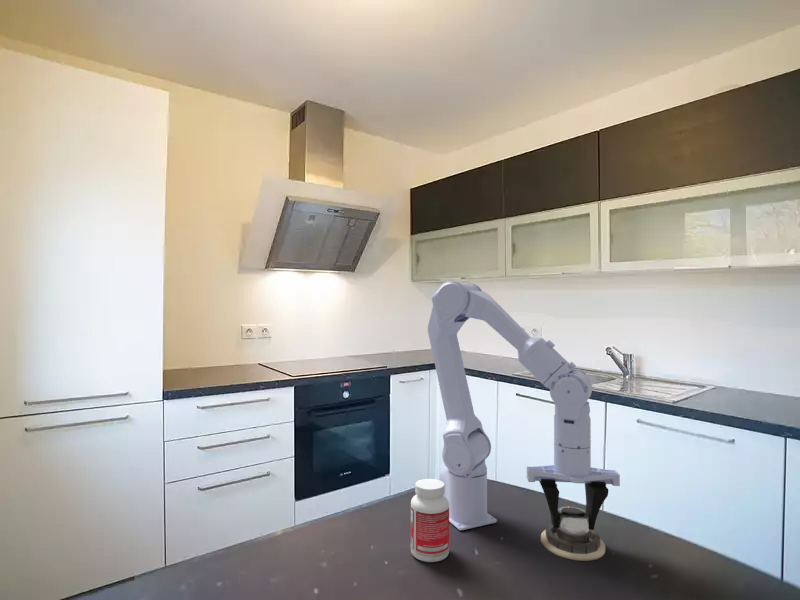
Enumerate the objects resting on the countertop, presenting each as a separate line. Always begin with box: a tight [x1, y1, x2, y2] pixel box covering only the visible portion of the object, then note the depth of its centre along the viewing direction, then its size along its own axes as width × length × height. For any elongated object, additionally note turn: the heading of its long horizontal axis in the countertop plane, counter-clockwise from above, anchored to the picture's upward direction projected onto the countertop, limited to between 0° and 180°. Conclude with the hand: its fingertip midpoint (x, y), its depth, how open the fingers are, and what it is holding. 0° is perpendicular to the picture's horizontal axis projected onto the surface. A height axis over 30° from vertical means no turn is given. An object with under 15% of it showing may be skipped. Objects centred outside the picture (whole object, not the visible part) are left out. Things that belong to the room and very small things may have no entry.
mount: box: [540, 522, 606, 562], centre depth 76 cm, size 10×10×2 cm
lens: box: [557, 505, 589, 544], centre depth 76 cm, size 5×5×4 cm
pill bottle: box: [410, 478, 450, 563], centre depth 74 cm, size 6×6×11 cm
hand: (572, 526), depth 76 cm, fingers closed on lens, 5 cm apart
